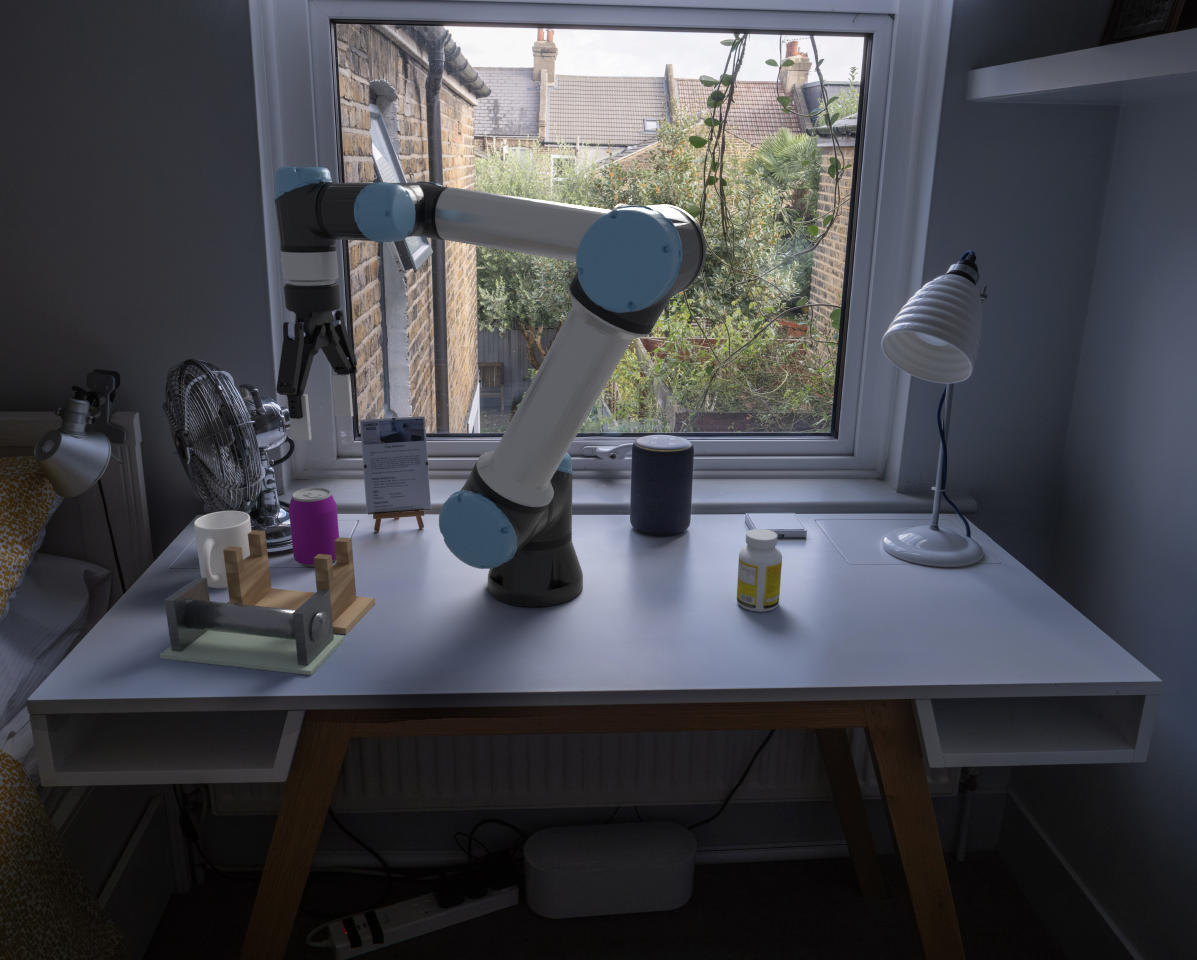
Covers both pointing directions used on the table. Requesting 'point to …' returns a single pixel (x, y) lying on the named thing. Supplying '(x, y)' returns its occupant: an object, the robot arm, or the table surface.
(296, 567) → the table surface
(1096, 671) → the table surface
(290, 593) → the cradle
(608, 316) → the robot arm
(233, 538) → the mug
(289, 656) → the mat
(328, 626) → the rod
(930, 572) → the table surface
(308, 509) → the beverage can
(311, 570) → the table surface
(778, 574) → the pill bottle
